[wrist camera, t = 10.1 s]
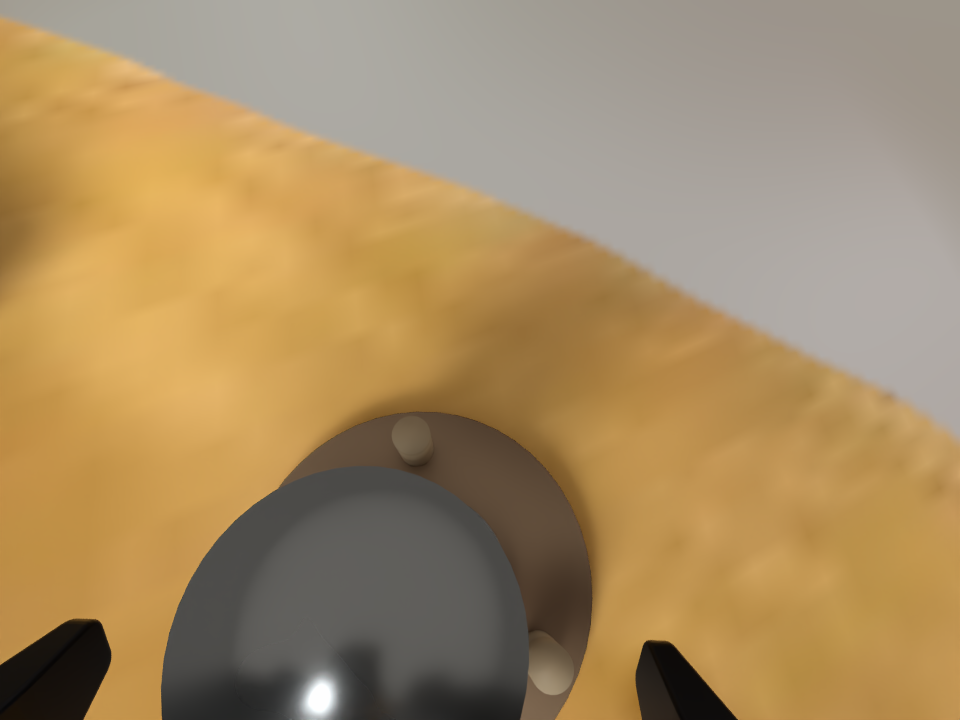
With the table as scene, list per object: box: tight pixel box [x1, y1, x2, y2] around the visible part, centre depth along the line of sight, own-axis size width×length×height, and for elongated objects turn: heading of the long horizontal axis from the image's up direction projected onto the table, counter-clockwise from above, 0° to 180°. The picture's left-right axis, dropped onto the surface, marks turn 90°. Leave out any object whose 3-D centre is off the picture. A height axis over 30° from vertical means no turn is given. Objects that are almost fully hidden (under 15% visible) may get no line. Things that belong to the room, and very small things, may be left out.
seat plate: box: [278, 412, 592, 720], centre depth 16 cm, size 12×12×3 cm
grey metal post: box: [161, 466, 529, 720], centre depth 11 cm, size 6×6×11 cm
